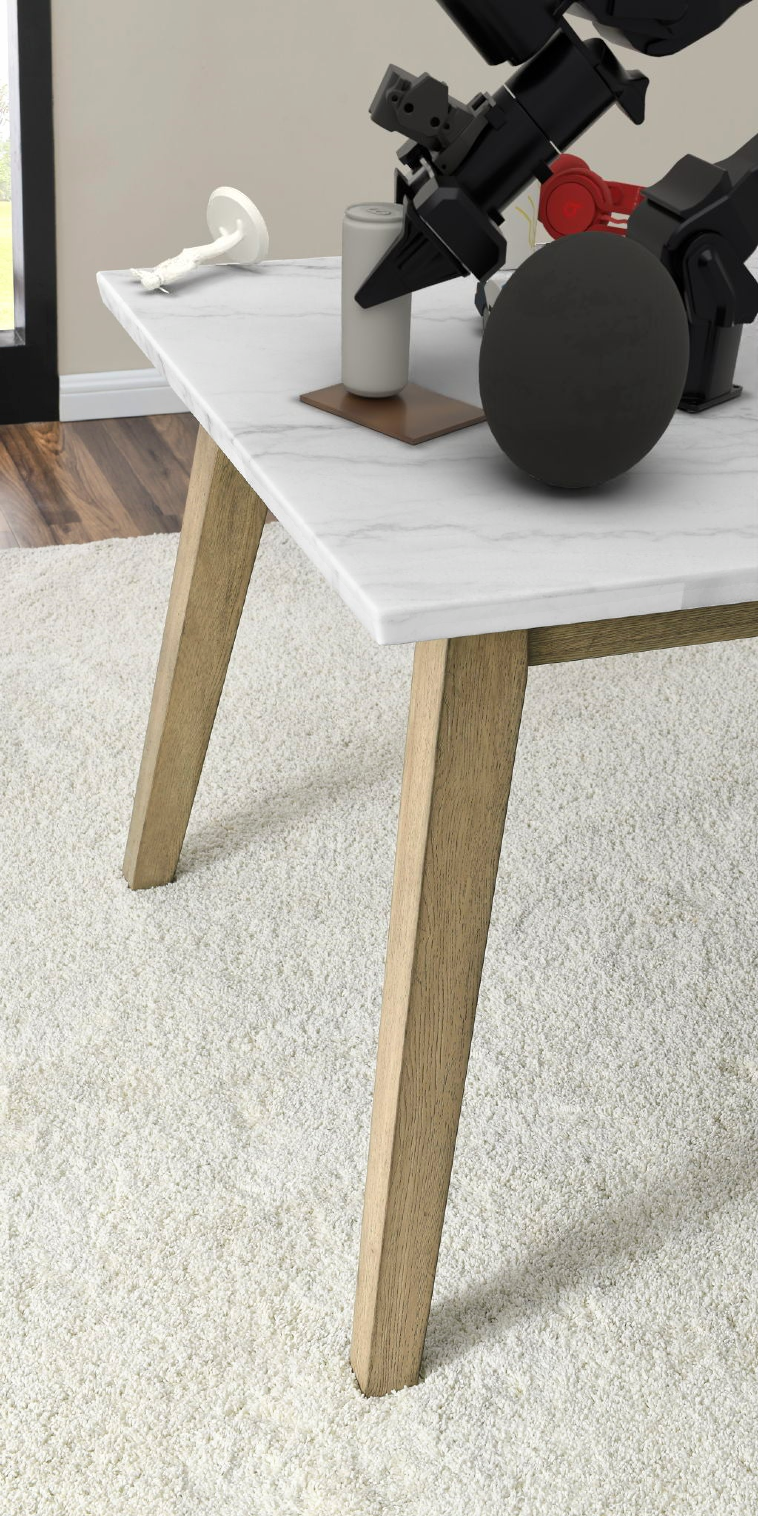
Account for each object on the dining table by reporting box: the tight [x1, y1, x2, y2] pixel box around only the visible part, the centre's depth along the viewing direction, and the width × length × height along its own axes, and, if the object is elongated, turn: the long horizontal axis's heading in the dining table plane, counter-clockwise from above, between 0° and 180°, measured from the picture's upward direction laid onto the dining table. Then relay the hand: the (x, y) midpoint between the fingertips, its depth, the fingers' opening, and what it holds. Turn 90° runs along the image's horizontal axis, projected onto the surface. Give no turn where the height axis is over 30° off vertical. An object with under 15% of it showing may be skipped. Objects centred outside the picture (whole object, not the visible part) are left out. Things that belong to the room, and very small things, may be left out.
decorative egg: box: [478, 231, 689, 489], centre depth 84 cm, size 12×12×15 cm
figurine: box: [129, 186, 270, 294], centre depth 121 cm, size 7×7×12 cm
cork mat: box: [299, 382, 487, 446], centre depth 98 cm, size 11×8×1 cm
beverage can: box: [340, 201, 413, 397], centre depth 96 cm, size 5×5×12 cm
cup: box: [498, 179, 541, 271], centre depth 130 cm, size 8×8×12 cm
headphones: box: [537, 152, 648, 241], centre depth 141 cm, size 15×7×20 cm
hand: (356, 292), depth 96 cm, fingers closed on beverage can, 5 cm apart
